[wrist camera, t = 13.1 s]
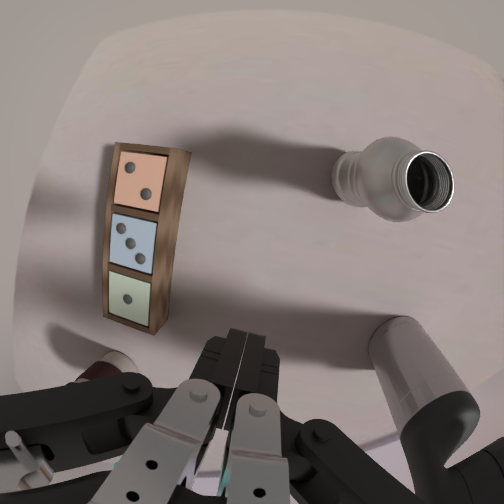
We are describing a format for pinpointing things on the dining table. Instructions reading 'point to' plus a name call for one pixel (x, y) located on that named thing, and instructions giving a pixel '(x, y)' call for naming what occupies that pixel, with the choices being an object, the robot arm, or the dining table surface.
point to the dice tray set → (164, 238)
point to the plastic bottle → (394, 179)
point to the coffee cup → (107, 367)
